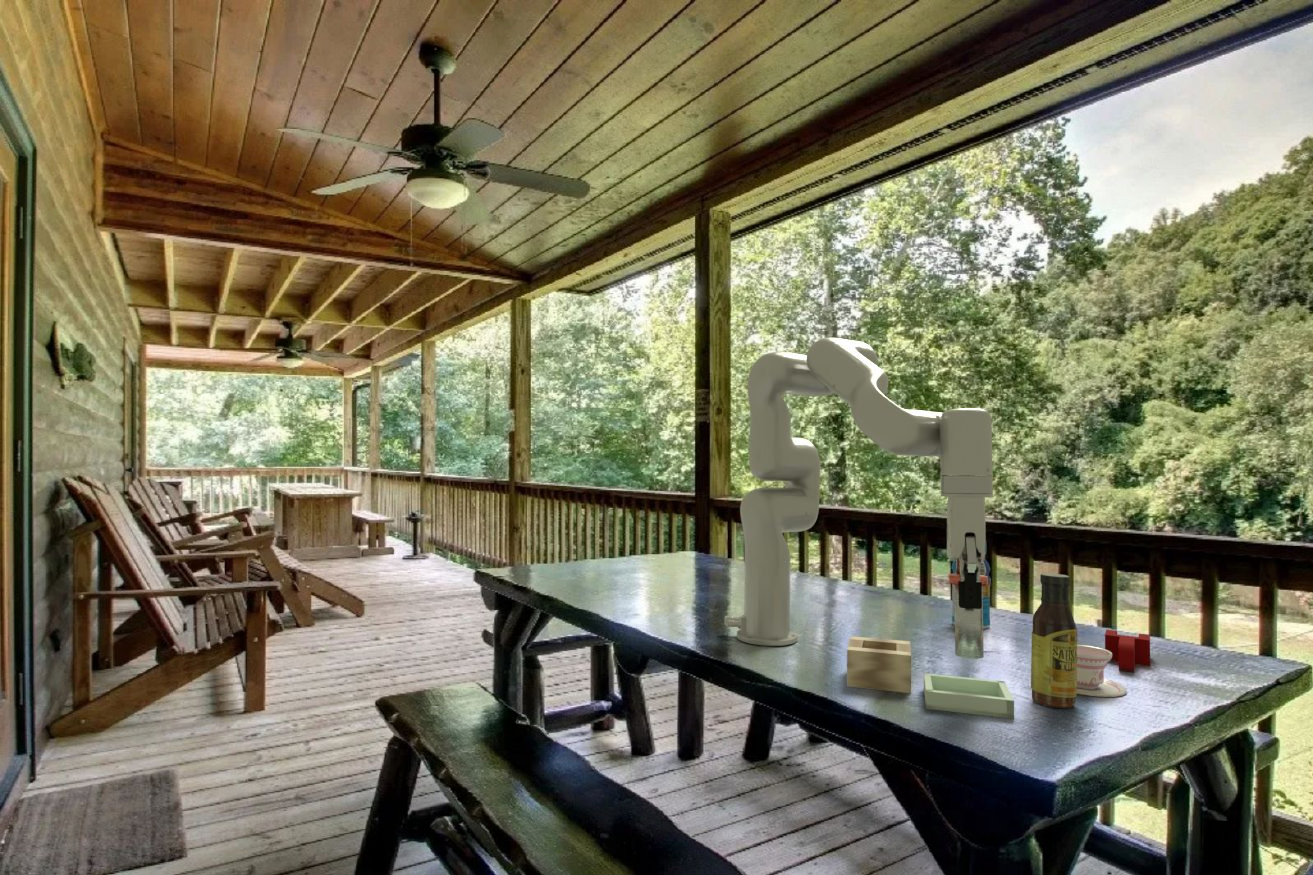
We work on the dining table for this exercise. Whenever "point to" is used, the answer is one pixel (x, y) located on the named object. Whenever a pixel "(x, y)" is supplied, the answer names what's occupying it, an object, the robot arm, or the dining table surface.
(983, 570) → the beverage bottle
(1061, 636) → the sauce bottle
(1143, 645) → the mechanical linkage
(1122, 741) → the dining table surface
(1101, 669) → the teacup
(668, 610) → the dining table surface
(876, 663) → the socket block
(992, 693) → the tray
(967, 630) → the pin
